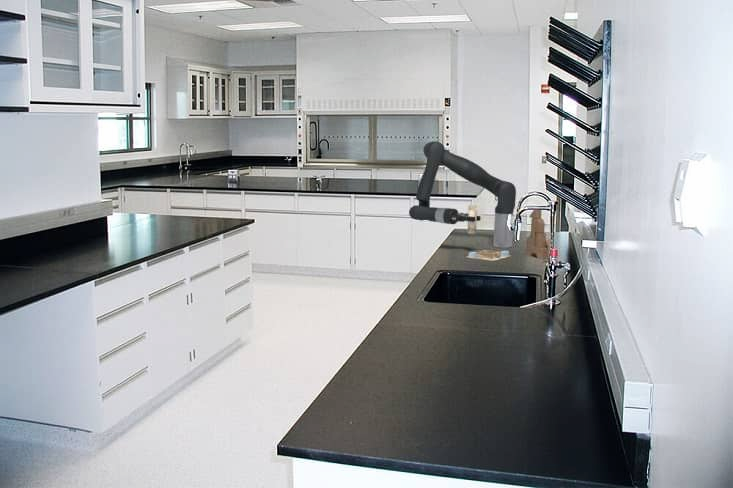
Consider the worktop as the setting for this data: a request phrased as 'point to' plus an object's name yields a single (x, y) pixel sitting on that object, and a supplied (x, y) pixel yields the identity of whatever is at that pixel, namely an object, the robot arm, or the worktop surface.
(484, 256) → the jig
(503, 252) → the wing piece
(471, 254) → the tail piece
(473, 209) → the fuselage dowel
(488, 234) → the worktop surface
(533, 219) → the wooden toy
